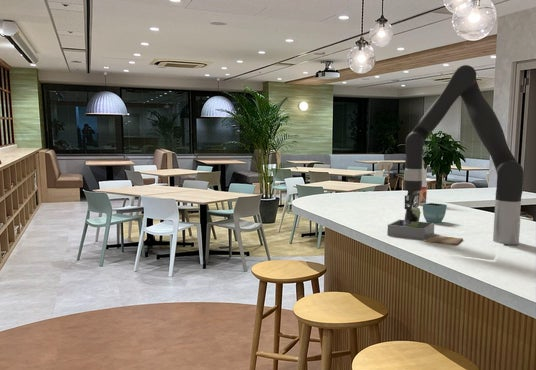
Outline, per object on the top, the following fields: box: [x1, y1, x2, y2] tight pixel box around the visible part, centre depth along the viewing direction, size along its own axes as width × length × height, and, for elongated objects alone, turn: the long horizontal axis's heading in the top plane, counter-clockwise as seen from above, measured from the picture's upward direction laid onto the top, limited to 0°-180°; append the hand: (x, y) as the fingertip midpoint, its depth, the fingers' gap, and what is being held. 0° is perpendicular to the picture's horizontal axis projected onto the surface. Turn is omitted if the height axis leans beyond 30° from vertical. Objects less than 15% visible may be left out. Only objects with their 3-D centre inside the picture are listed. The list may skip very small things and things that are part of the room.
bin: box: [386, 219, 435, 241], centre depth 206 cm, size 16×16×4 cm
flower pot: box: [421, 202, 448, 224], centre depth 234 cm, size 9×9×9 cm
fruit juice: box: [417, 159, 428, 206], centre depth 288 cm, size 9×9×28 cm
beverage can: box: [403, 207, 422, 228], centre depth 206 cm, size 6×7×12 cm
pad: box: [424, 234, 464, 246], centre depth 194 cm, size 12×12×1 cm
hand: (411, 217), depth 205 cm, fingers closed on beverage can, 6 cm apart
